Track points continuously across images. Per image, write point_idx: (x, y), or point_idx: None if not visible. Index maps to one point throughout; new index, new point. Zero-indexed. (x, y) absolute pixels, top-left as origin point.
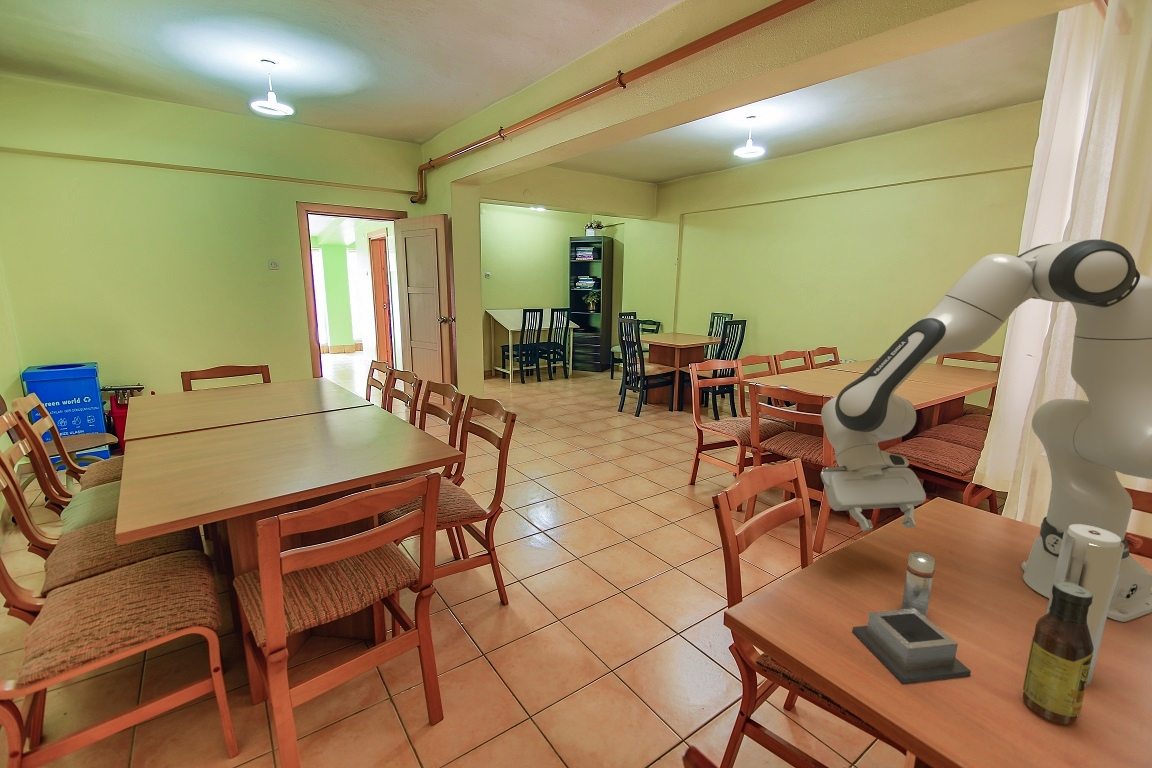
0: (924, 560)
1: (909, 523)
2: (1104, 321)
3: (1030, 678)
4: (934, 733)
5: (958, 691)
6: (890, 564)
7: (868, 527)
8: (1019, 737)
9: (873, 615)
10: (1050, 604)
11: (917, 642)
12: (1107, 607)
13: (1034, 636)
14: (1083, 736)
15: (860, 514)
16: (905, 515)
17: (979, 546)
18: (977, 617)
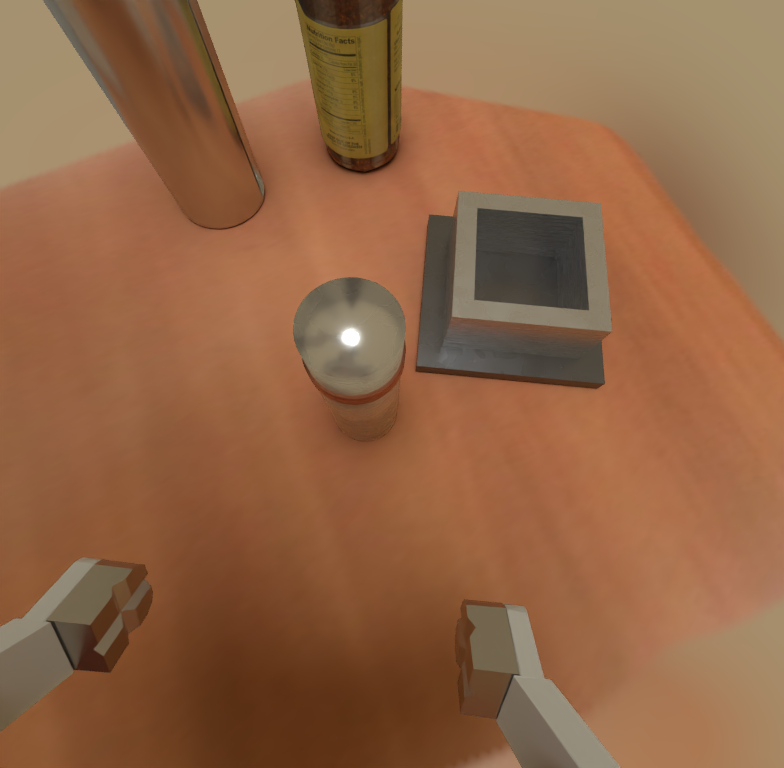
0: (365, 302)
1: (128, 570)
2: None
3: (398, 98)
4: (606, 156)
5: None
6: (174, 691)
7: (509, 607)
8: (470, 125)
9: (607, 318)
10: (180, 50)
11: (559, 213)
12: None
13: (383, 3)
14: None
15: (581, 746)
16: (23, 699)
17: None
18: (203, 358)
